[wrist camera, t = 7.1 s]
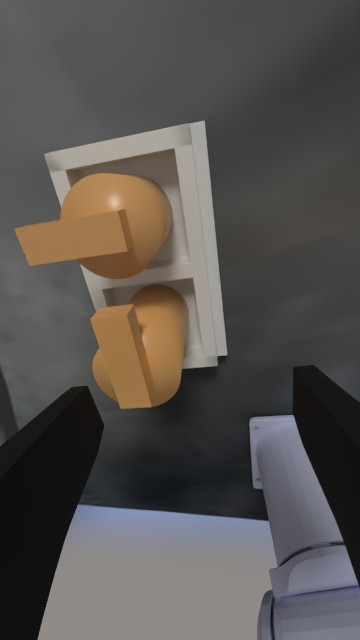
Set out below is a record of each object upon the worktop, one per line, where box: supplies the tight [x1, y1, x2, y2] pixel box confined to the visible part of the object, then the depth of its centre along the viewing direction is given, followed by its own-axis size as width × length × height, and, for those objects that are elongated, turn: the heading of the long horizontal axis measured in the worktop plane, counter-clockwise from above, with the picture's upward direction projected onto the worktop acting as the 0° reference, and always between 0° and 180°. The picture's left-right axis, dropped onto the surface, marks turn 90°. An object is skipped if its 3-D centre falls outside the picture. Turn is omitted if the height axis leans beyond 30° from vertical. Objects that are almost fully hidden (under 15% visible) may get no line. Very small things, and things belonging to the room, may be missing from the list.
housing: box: [14, 121, 227, 369], centre depth 14 cm, size 14×8×7 cm, turn 9°
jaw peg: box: [90, 284, 189, 409], centre depth 14 cm, size 5×4×7 cm
